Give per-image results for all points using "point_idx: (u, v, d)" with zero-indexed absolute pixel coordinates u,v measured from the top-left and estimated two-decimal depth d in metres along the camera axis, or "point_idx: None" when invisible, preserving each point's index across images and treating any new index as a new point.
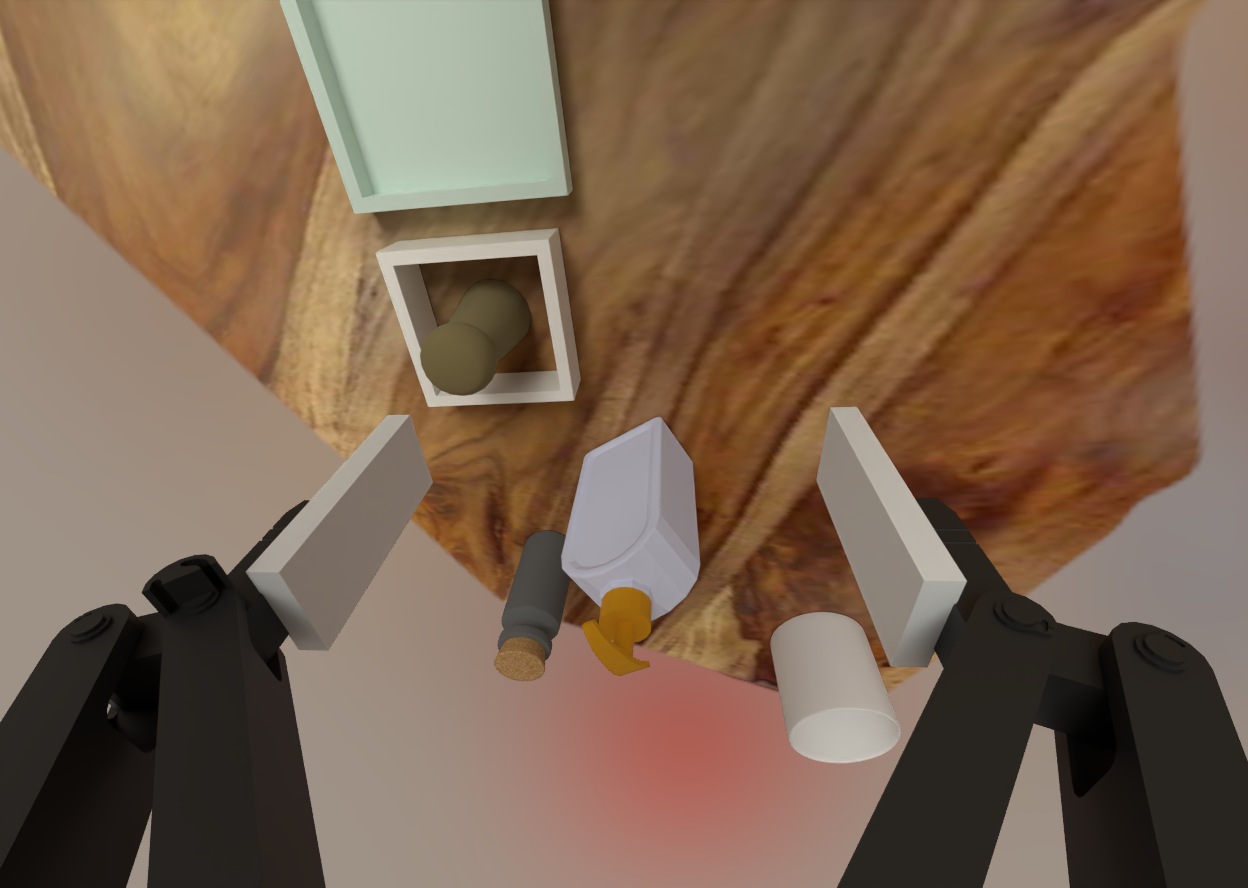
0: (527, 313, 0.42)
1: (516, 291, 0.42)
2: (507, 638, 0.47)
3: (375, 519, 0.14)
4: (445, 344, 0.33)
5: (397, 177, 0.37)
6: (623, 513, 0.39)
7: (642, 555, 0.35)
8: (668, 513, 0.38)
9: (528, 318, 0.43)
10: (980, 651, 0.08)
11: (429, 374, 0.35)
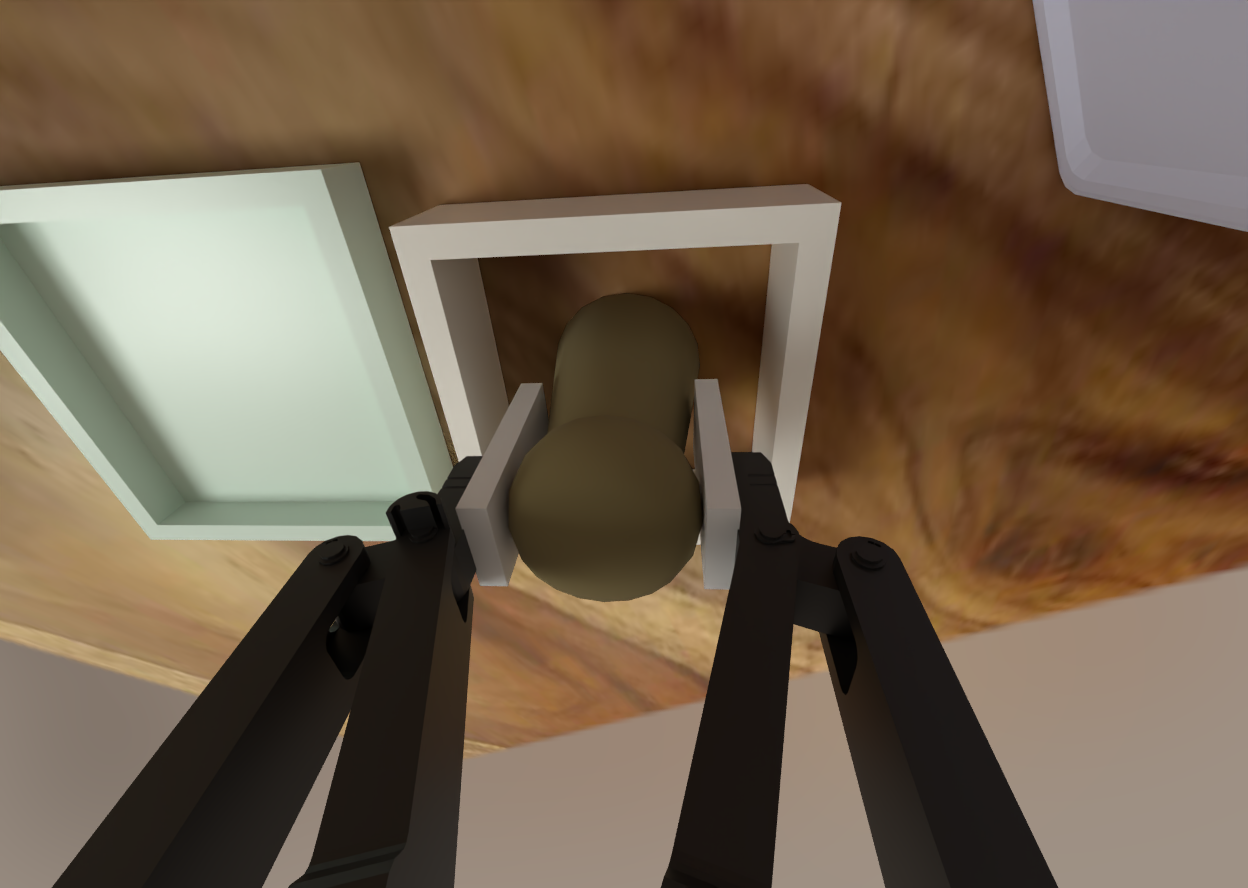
0: (619, 300, 0.19)
1: (575, 316, 0.20)
2: None
3: None
4: (529, 549, 0.13)
5: None
6: None
7: None
8: None
9: (631, 299, 0.19)
10: (750, 570, 0.10)
11: (617, 598, 0.13)
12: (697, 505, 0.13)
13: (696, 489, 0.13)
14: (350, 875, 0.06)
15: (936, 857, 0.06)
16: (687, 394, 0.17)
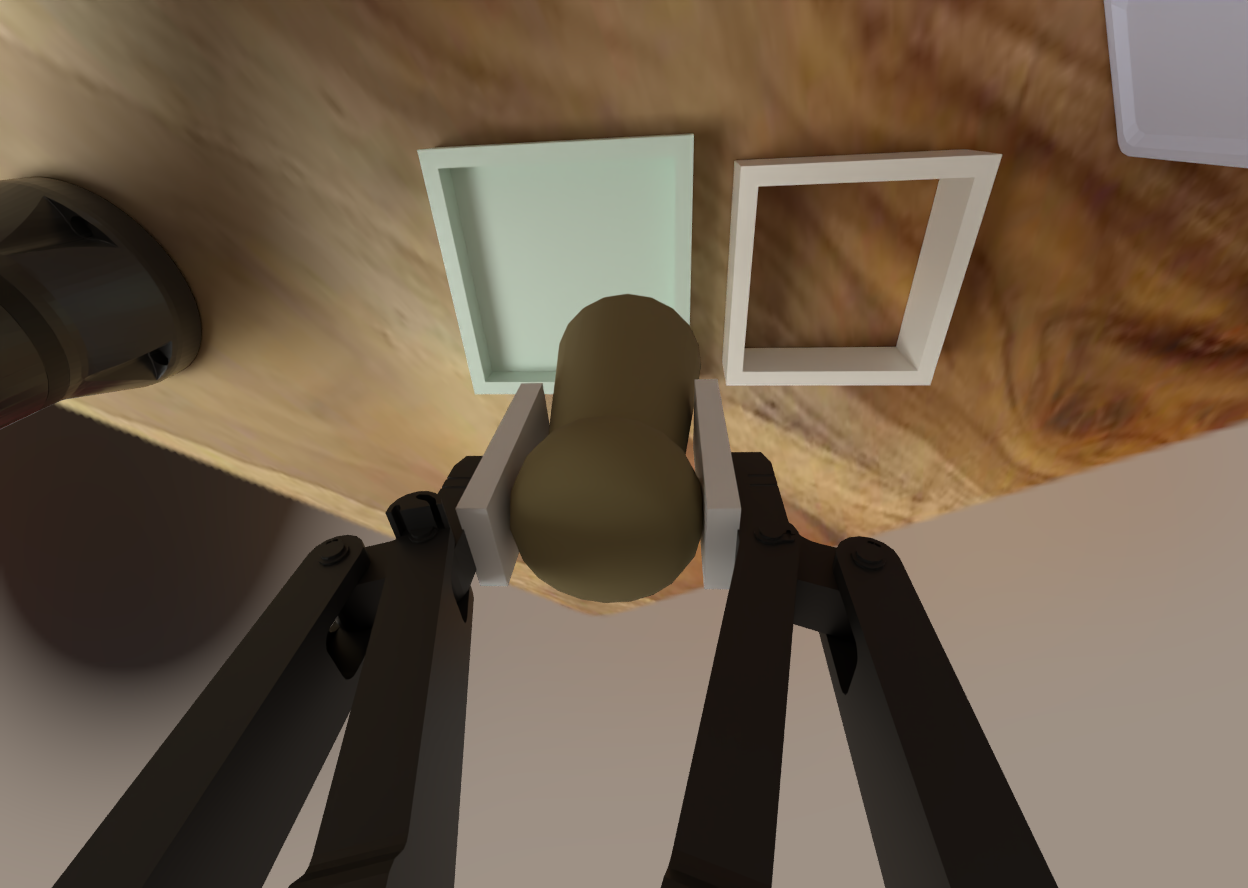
0: (620, 301, 0.19)
1: (576, 316, 0.20)
2: None
3: None
4: (531, 550, 0.12)
5: None
6: None
7: None
8: None
9: (632, 300, 0.19)
10: (750, 570, 0.10)
11: (618, 598, 0.13)
12: (699, 506, 0.13)
13: (698, 490, 0.13)
14: (350, 875, 0.06)
15: (936, 857, 0.06)
16: (688, 395, 0.17)
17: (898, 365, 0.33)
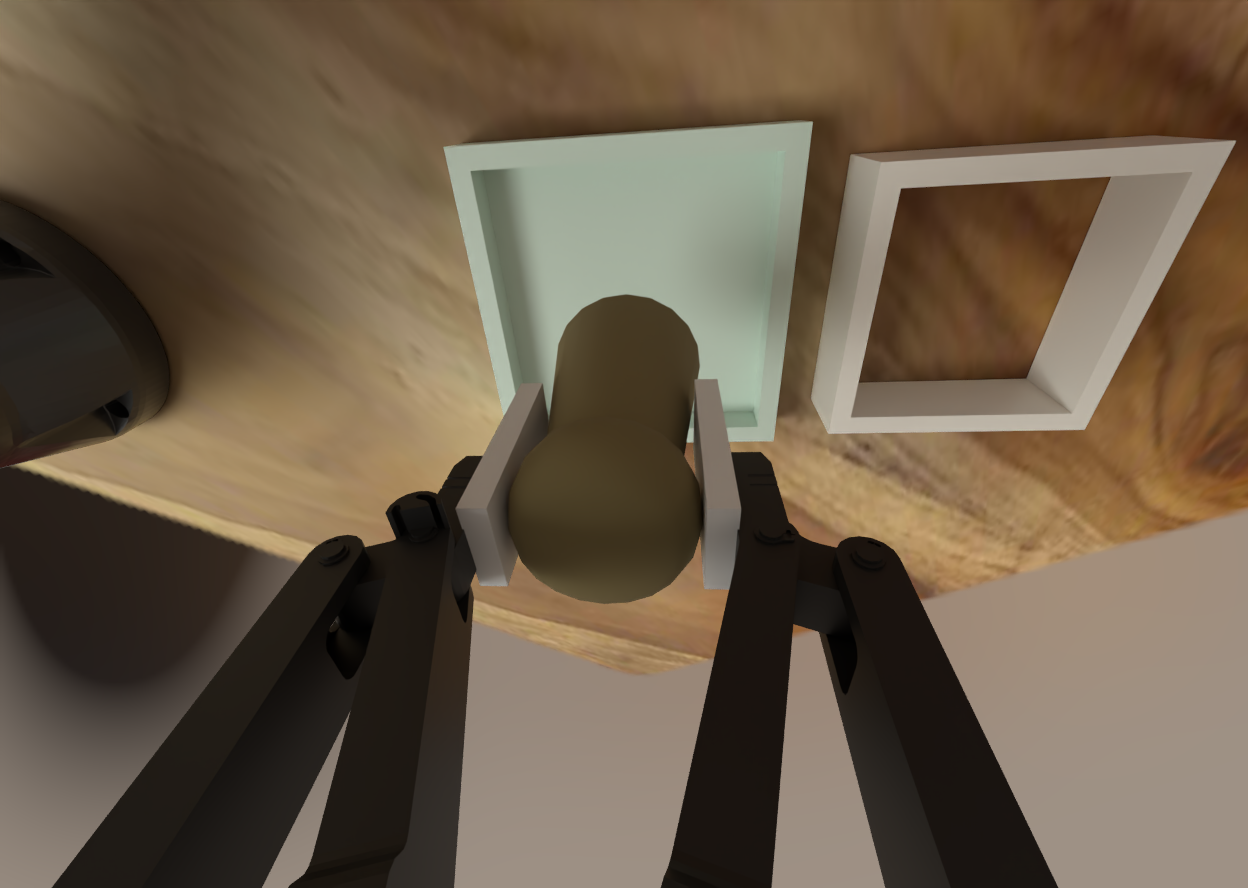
0: (619, 301, 0.19)
1: (575, 317, 0.20)
2: None
3: None
4: (529, 551, 0.12)
5: (739, 379, 0.30)
6: None
7: None
8: None
9: (631, 300, 0.19)
10: (750, 570, 0.10)
11: (617, 600, 0.13)
12: (697, 507, 0.13)
13: (696, 491, 0.13)
14: (350, 875, 0.06)
15: (936, 857, 0.06)
16: (687, 395, 0.17)
17: (1044, 405, 0.27)
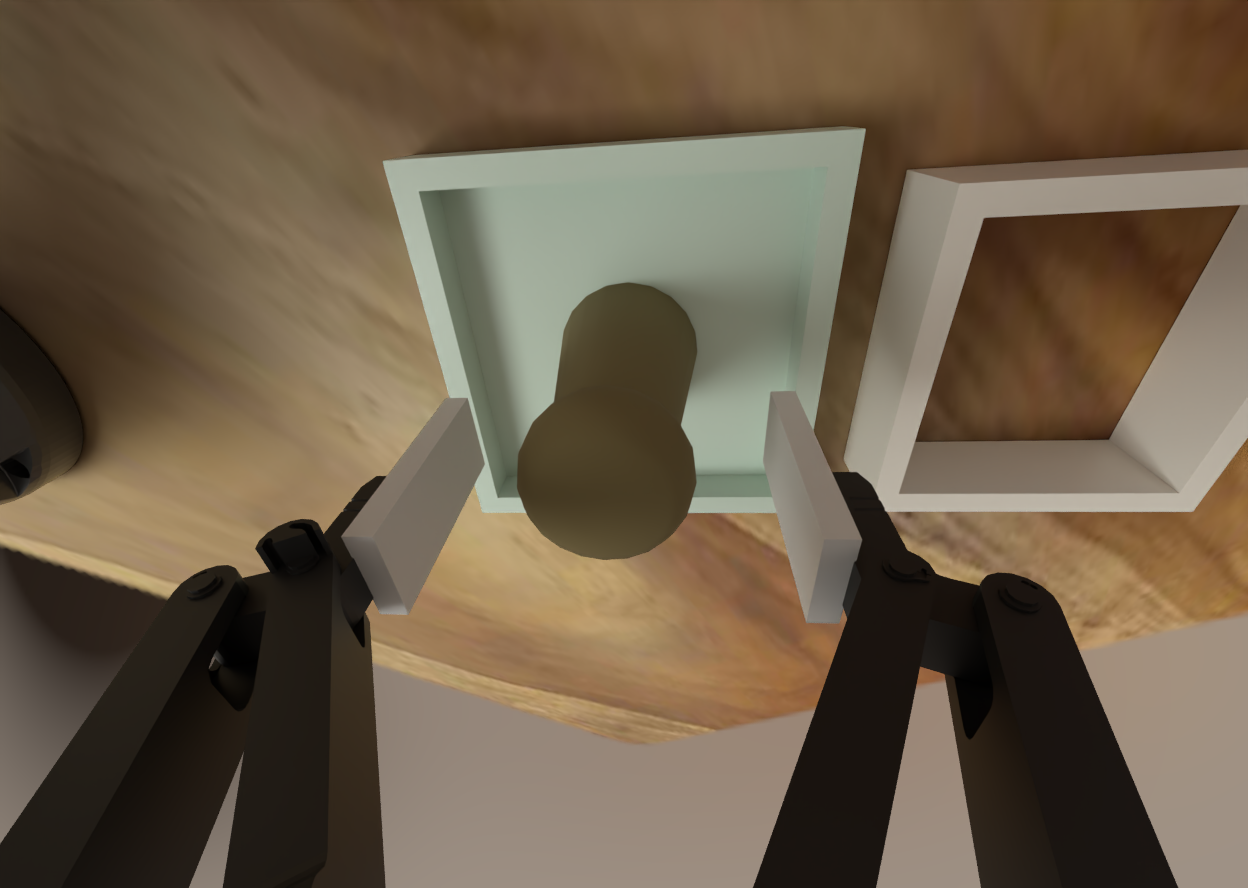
0: (621, 288, 0.20)
1: (580, 304, 0.21)
2: None
3: (442, 494, 0.15)
4: (536, 506, 0.14)
5: (758, 438, 0.25)
6: None
7: None
8: None
9: (632, 288, 0.20)
10: (873, 604, 0.09)
11: (616, 554, 0.14)
12: (690, 467, 0.14)
13: (690, 453, 0.14)
14: None
15: None
16: (684, 374, 0.18)
17: (1140, 480, 0.21)
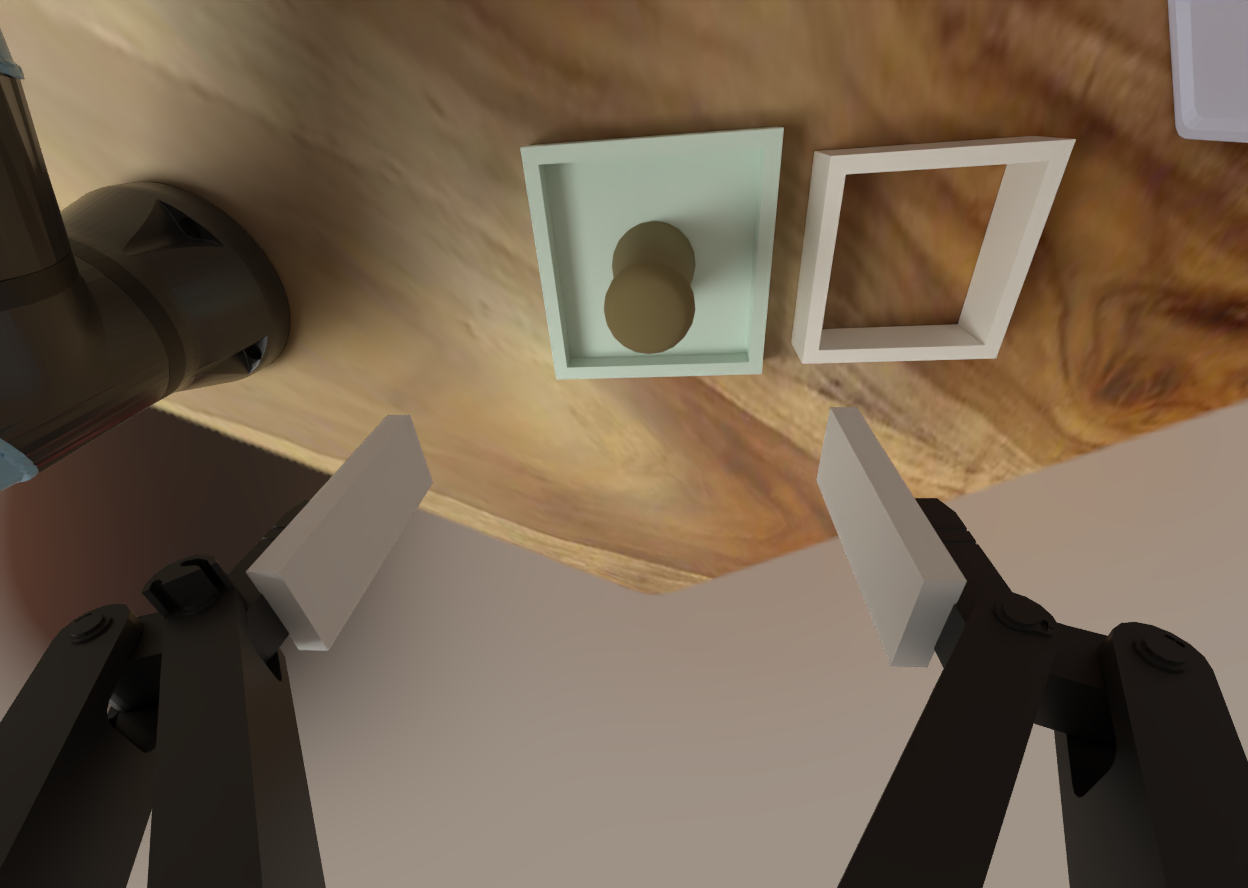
0: (649, 224, 0.34)
1: (624, 234, 0.35)
2: None
3: (375, 519, 0.14)
4: (616, 317, 0.28)
5: (735, 325, 0.38)
6: None
7: None
8: None
9: (656, 223, 0.34)
10: (980, 651, 0.08)
11: (655, 346, 0.28)
12: (692, 297, 0.28)
13: (692, 291, 0.28)
14: None
15: None
16: (688, 269, 0.32)
17: (965, 340, 0.35)
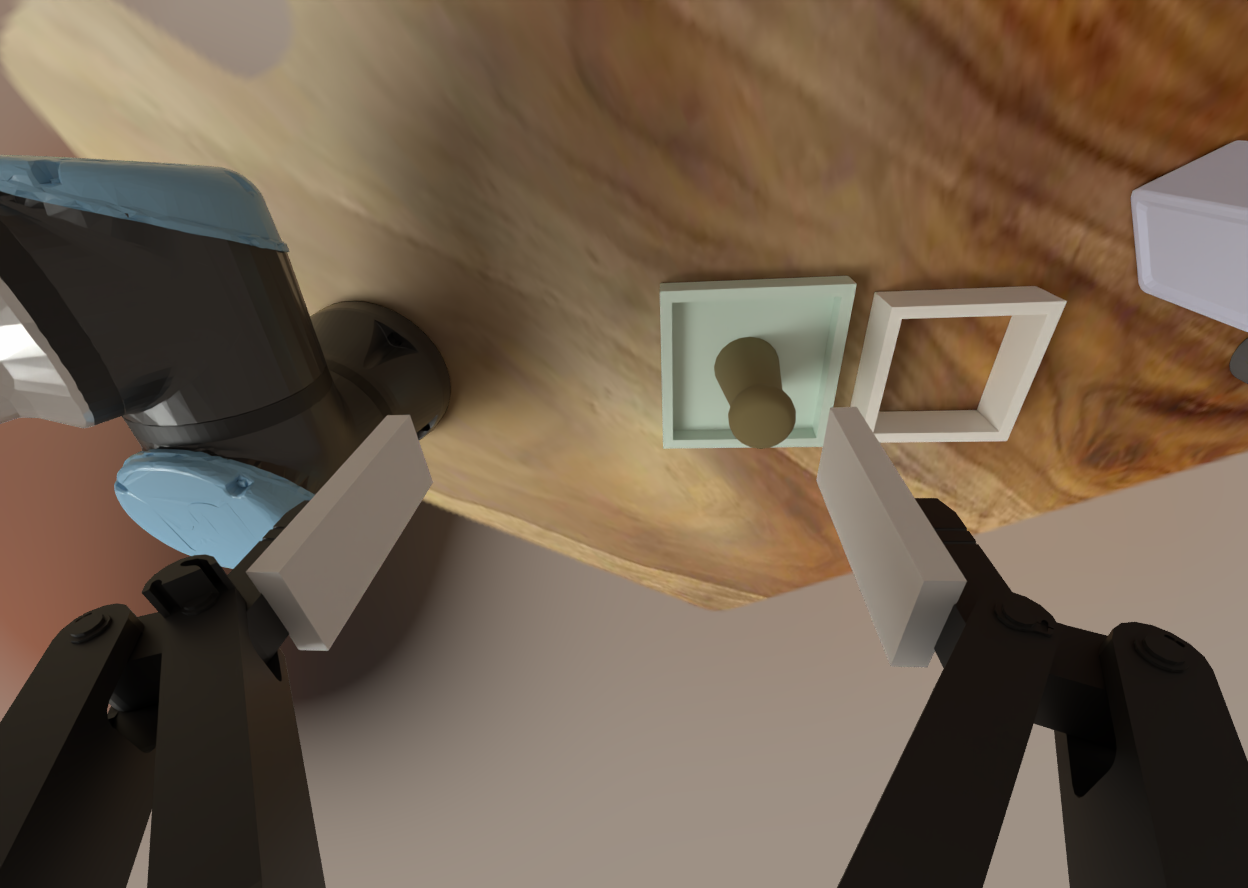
0: (748, 340, 0.46)
1: (727, 346, 0.46)
2: None
3: (375, 519, 0.14)
4: (741, 426, 0.39)
5: (805, 409, 0.50)
6: None
7: None
8: None
9: (752, 339, 0.46)
10: (980, 651, 0.08)
11: (766, 445, 0.40)
12: (795, 412, 0.39)
13: (794, 407, 0.39)
14: None
15: None
16: (780, 378, 0.44)
17: (984, 427, 0.47)
